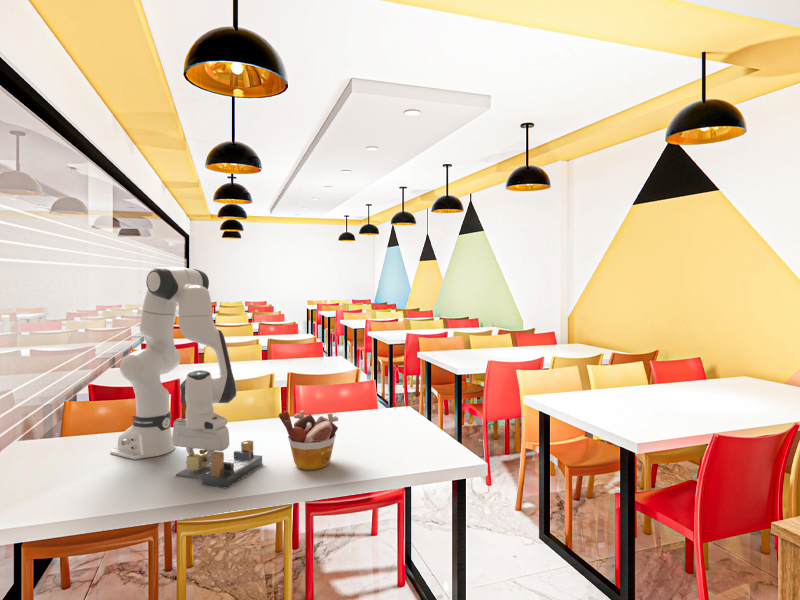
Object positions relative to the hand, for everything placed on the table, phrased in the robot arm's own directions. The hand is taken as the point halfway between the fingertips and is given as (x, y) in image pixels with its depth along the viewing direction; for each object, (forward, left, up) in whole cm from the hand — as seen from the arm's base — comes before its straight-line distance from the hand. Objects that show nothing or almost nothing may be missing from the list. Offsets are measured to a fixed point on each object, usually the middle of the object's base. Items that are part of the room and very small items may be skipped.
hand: (200, 460), depth 165 cm
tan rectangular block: (0, 0, -1) cm, 1 cm away
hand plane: (+12, +1, -4) cm, 13 cm away
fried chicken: (+33, +15, -4) cm, 36 cm away
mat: (0, 0, -4) cm, 4 cm away
